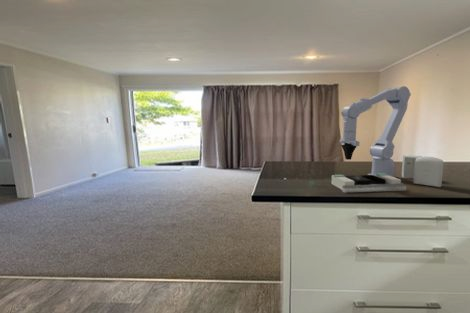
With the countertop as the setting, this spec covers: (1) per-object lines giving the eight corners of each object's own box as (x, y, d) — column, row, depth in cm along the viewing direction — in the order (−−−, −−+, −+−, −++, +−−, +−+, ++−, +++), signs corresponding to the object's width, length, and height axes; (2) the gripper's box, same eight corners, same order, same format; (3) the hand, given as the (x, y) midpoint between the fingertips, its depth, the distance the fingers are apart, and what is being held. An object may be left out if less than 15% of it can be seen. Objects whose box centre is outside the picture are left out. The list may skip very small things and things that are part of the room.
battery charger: (356, 190, 111) (356, 180, 111) (344, 184, 121) (344, 175, 120) (385, 188, 113) (385, 179, 112) (371, 183, 122) (371, 174, 122)
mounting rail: (402, 189, 111) (403, 183, 110) (406, 190, 109) (406, 184, 108) (342, 191, 109) (342, 185, 108) (344, 192, 107) (344, 186, 106)
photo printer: (411, 183, 120) (414, 156, 118) (414, 182, 122) (417, 155, 120) (439, 188, 112) (442, 158, 110) (442, 186, 114) (445, 157, 113)
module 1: (340, 183, 121) (340, 174, 120) (354, 190, 109) (354, 180, 108) (331, 183, 120) (331, 174, 120) (344, 191, 109) (345, 180, 108)
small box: (419, 177, 132) (421, 155, 130) (422, 179, 127) (424, 157, 125) (401, 175, 135) (402, 155, 133) (403, 178, 130) (404, 156, 128)
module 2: (382, 182, 122) (382, 172, 122) (400, 189, 111) (401, 178, 110) (373, 182, 122) (374, 172, 121) (391, 189, 110) (391, 179, 110)
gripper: (334, 130, 134) (333, 157, 136) (349, 132, 120) (348, 162, 122) (347, 130, 135) (346, 156, 137) (364, 131, 121) (362, 161, 123)
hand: (348, 159), depth 130 cm, fingers closed
